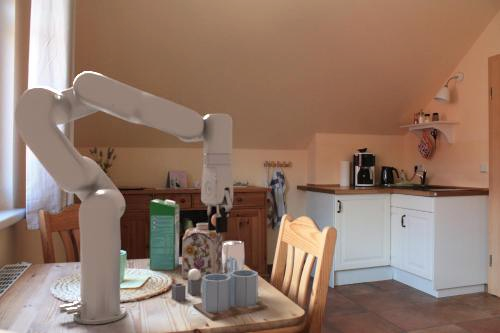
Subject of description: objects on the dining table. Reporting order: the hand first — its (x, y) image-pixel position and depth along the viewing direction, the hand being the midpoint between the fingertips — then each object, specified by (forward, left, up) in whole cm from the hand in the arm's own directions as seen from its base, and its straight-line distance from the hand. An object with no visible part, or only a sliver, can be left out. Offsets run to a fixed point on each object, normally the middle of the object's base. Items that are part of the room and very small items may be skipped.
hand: (217, 230), depth 111 cm
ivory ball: (+1, +17, -17) cm, 24 cm away
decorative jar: (+12, +34, -21) cm, 42 cm away
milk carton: (+5, +52, -21) cm, 56 cm away
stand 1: (-5, +14, -21) cm, 26 cm away
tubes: (+4, 0, -21) cm, 21 cm away
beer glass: (+11, +12, -21) cm, 27 cm away
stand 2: (+1, +17, -21) cm, 27 cm away
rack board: (+4, 0, -21) cm, 21 cm away
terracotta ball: (0, 0, +1) cm, 1 cm away
